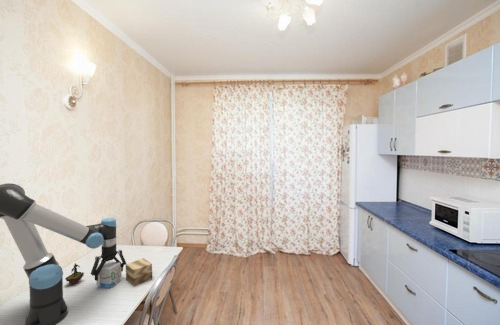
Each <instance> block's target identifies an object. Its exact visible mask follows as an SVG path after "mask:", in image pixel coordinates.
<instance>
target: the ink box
mask: <svg viewBox="0 0 500 325" xmlns="http://www.w3.org/2000/svg"><path fill="white" fill-rule="evenodd" d="M120 262H121V261H120ZM120 262H119V263H117V262H116V261H113V260H110V261H108V262H107V261H106V263H105V264H104V266H103V267H102V269H101V271H100V272H99V275H100V286H97V287H98V288H104V289H111V288H113V287H114V286H116V285H117V284H118V283H120V282H121V279H122V278H121V276H120Z"/></svg>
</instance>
